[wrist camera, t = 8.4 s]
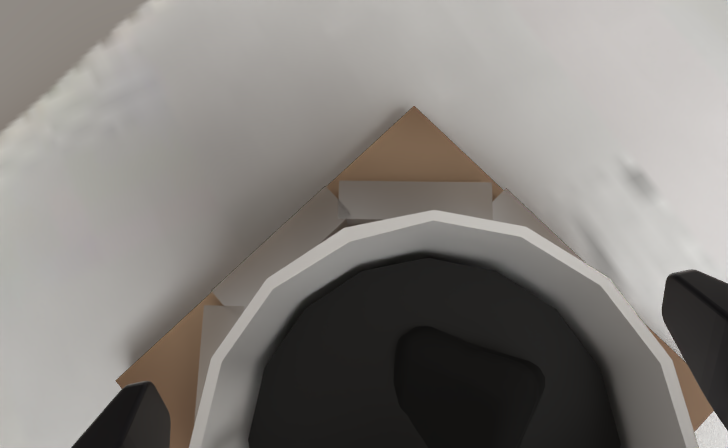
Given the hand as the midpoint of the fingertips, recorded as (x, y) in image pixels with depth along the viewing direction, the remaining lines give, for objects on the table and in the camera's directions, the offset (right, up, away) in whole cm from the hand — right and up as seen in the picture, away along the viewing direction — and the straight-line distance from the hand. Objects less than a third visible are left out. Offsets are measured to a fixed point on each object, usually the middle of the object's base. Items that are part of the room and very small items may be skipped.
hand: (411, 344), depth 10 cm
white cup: (+1, -3, +8) cm, 8 cm away
